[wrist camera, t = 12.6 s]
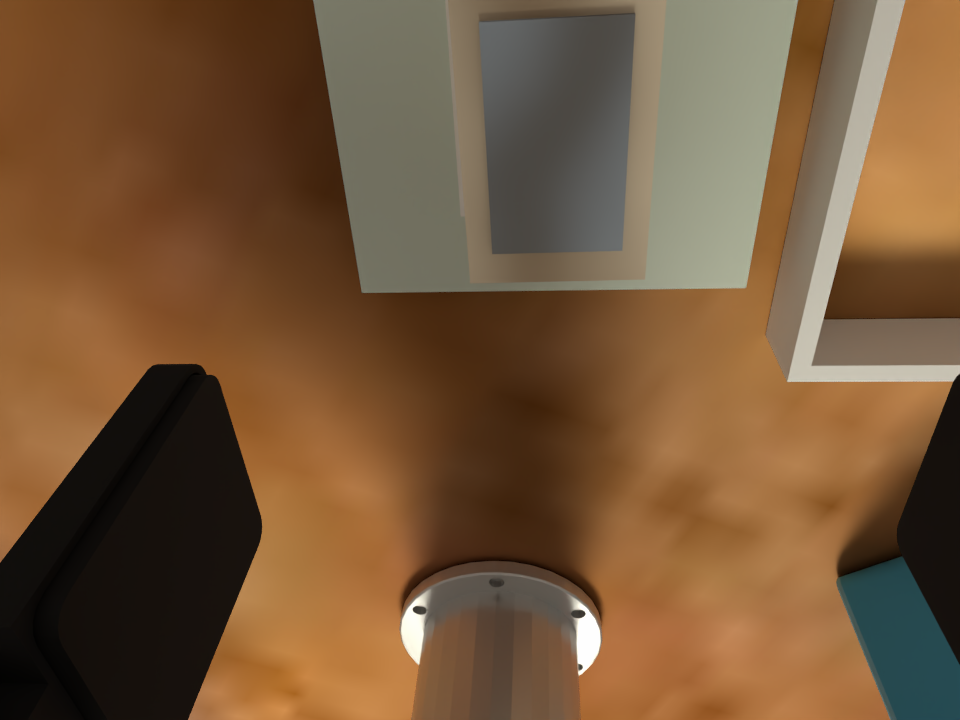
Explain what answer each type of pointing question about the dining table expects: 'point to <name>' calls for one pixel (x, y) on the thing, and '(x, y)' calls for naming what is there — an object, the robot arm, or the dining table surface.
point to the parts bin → (824, 218)
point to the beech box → (557, 135)
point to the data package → (902, 642)
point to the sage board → (436, 153)
